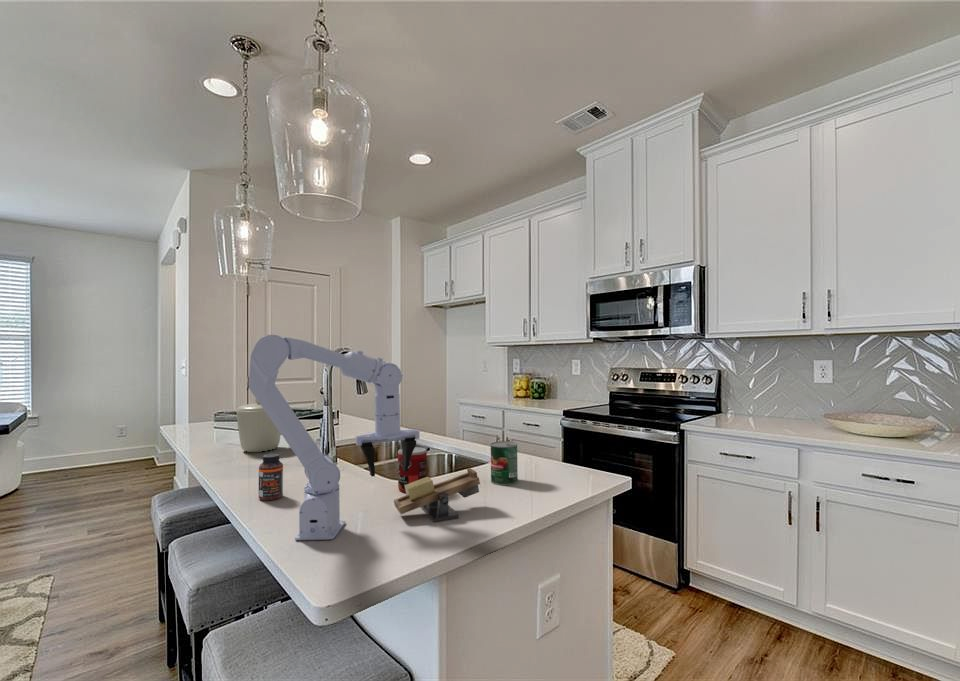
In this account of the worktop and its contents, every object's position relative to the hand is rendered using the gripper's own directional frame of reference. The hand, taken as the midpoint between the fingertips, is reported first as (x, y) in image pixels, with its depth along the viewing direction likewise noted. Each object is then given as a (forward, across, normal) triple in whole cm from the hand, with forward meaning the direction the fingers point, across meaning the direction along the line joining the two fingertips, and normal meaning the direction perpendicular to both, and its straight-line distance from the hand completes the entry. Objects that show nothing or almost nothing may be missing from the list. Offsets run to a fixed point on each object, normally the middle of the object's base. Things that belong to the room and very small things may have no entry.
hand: (389, 473), depth 107 cm
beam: (+9, +12, -1) cm, 15 cm away
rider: (+6, +7, -1) cm, 10 cm away
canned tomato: (+11, +37, +14) cm, 41 cm away
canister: (+10, -29, +96) cm, 101 cm away
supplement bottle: (+10, -25, +29) cm, 40 cm away
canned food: (+11, +11, +19) cm, 24 cm away
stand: (+11, +11, -1) cm, 16 cm away
